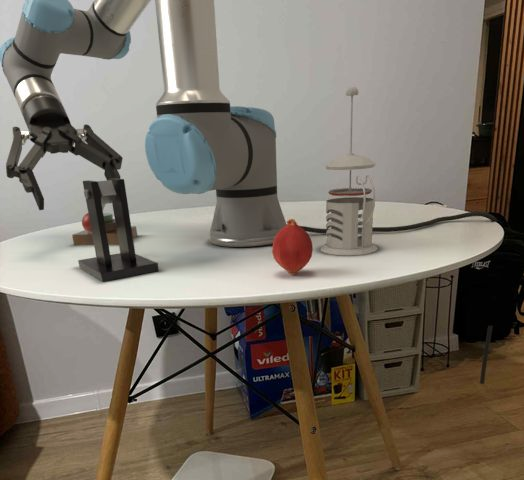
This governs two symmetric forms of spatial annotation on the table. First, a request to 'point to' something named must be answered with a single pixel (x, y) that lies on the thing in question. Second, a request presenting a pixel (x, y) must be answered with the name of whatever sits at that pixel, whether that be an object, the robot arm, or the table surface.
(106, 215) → the button
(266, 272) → the table surface
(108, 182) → the lever
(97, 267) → the bracket
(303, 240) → the onion
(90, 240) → the button block
